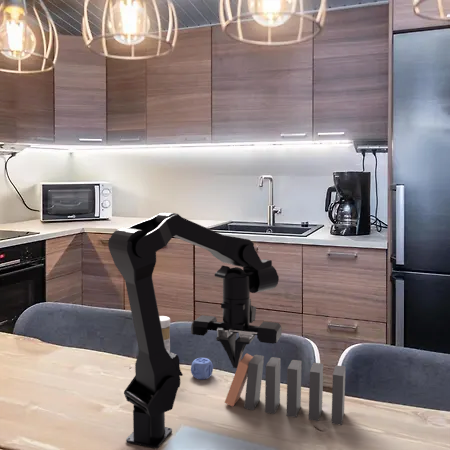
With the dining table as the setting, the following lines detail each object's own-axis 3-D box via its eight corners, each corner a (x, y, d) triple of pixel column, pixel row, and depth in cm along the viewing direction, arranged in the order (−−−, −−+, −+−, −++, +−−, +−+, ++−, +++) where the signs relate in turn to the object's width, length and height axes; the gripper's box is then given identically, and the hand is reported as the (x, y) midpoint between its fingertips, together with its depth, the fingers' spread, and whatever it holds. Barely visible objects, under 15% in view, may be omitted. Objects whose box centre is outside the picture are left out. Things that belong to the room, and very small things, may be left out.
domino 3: (279, 403, 103) (280, 358, 102) (274, 413, 98) (275, 366, 97) (270, 401, 104) (271, 357, 103) (265, 412, 99) (265, 365, 98)
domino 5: (322, 409, 100) (323, 363, 99) (318, 421, 95) (319, 372, 94) (312, 408, 101) (313, 362, 100) (308, 419, 96) (309, 371, 95)
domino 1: (239, 396, 106) (254, 357, 104) (232, 406, 101) (248, 365, 99) (231, 392, 106) (246, 353, 104) (224, 402, 102) (239, 361, 100)
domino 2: (259, 399, 104) (264, 356, 103) (253, 410, 100) (258, 364, 99) (250, 397, 105) (255, 354, 104) (244, 408, 100) (248, 362, 99)
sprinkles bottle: (152, 366, 122) (152, 315, 121) (170, 366, 123) (170, 315, 122) (151, 374, 118) (151, 320, 117) (170, 373, 118) (170, 320, 117)
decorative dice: (204, 381, 114) (204, 365, 114) (190, 377, 116) (190, 361, 116) (213, 375, 118) (213, 359, 117) (199, 371, 120) (199, 356, 119)
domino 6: (344, 413, 99) (345, 366, 98) (341, 425, 94) (343, 376, 93) (334, 411, 99) (335, 365, 98) (331, 423, 95) (332, 374, 94)
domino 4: (300, 406, 102) (301, 360, 101) (296, 417, 97) (297, 369, 96) (291, 404, 102) (292, 359, 101) (286, 415, 98) (287, 368, 97)
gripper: (287, 291, 106) (286, 359, 108) (208, 285, 112) (208, 349, 114) (276, 303, 96) (275, 379, 97) (189, 296, 101) (190, 367, 103)
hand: (235, 367), depth 103 cm, fingers closed
